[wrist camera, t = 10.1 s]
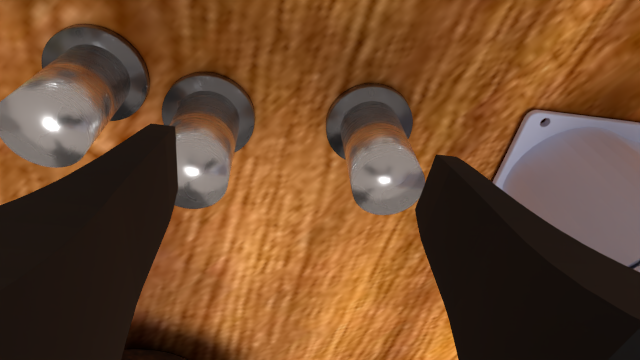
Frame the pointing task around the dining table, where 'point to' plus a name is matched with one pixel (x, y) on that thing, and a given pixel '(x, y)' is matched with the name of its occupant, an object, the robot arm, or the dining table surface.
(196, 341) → the dining table surface
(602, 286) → the robot arm
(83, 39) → the spacer field
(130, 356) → the glass bottle
